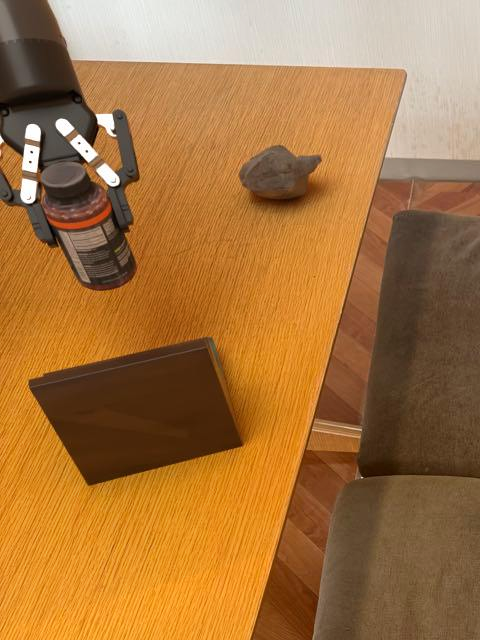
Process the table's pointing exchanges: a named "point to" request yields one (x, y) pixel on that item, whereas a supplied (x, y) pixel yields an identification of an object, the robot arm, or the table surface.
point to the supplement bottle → (86, 227)
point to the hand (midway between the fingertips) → (90, 238)
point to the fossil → (278, 173)
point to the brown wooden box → (140, 409)
